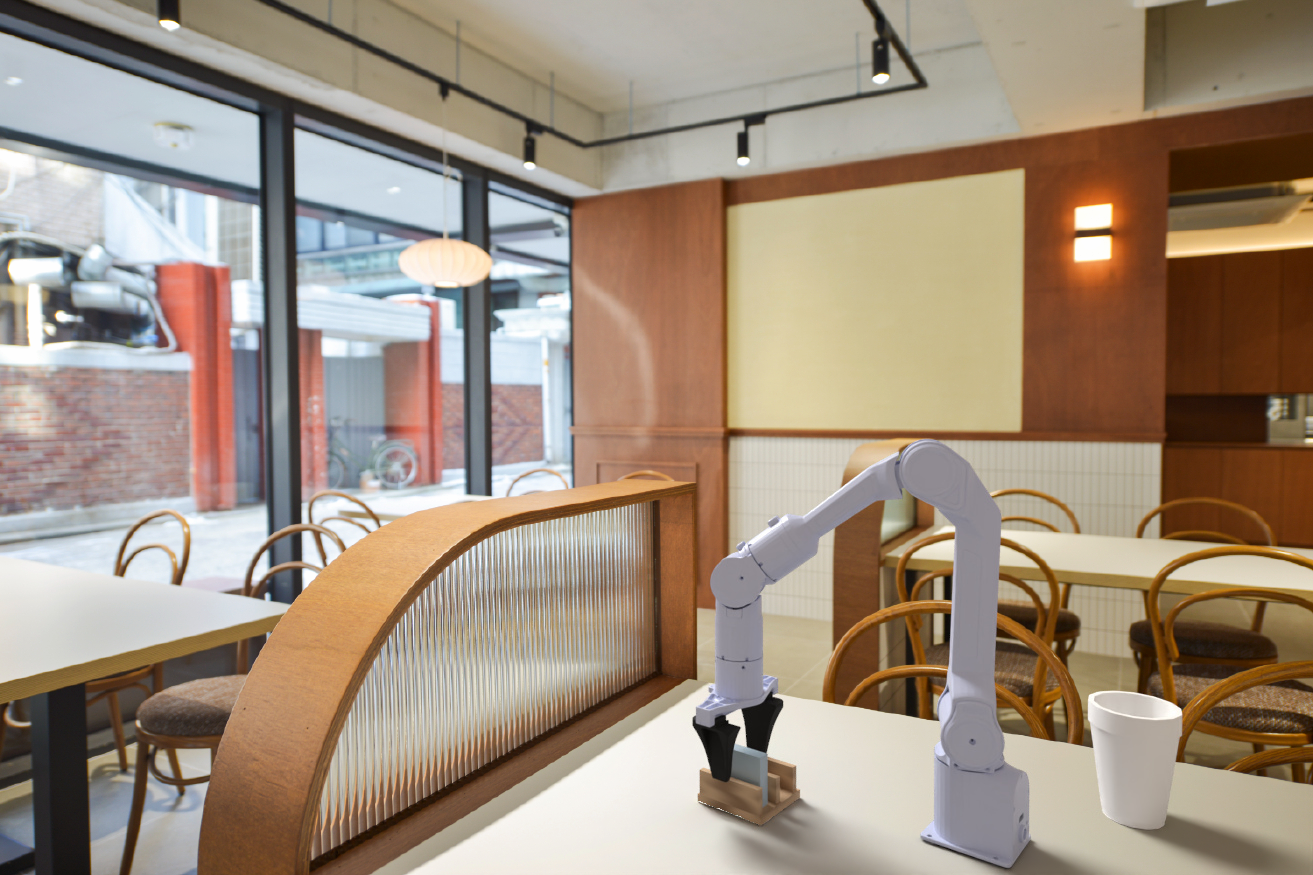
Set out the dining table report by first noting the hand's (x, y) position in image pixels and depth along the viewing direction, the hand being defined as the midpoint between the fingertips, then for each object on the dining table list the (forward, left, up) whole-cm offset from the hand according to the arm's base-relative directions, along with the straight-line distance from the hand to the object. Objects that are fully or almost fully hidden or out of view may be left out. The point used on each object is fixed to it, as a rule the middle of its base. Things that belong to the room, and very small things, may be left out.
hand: (739, 767), depth 96 cm
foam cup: (-36, -27, -5) cm, 46 cm away
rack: (0, -2, -5) cm, 5 cm away
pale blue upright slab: (0, 0, -4) cm, 4 cm away
